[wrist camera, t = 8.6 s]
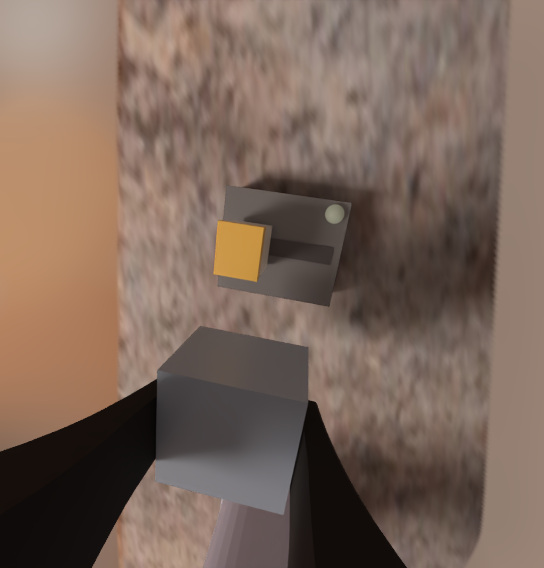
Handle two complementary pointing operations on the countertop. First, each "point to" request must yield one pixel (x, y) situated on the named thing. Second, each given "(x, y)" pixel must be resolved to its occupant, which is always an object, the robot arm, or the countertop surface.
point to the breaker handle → (242, 249)
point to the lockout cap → (231, 417)
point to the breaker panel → (292, 242)
